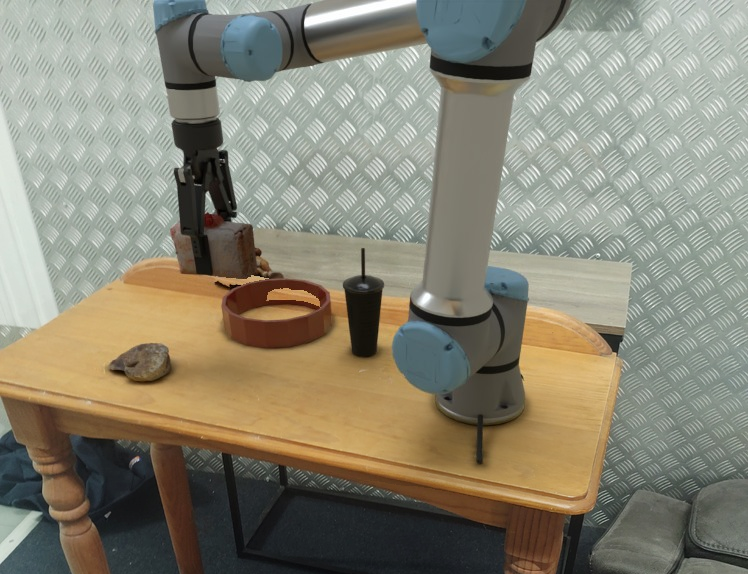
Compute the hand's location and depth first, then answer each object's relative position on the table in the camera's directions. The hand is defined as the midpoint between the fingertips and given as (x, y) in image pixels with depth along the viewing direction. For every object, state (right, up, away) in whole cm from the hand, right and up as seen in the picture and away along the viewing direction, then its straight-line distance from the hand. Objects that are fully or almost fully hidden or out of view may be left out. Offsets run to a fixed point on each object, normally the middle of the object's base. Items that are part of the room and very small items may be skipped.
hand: (216, 264), depth 123 cm
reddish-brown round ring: (+7, -4, +26) cm, 27 cm away
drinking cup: (+25, -12, +16) cm, 32 cm away
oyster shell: (-17, -16, +10) cm, 26 cm away
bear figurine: (-2, +11, +45) cm, 46 cm away
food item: (0, -1, +1) cm, 1 cm away
